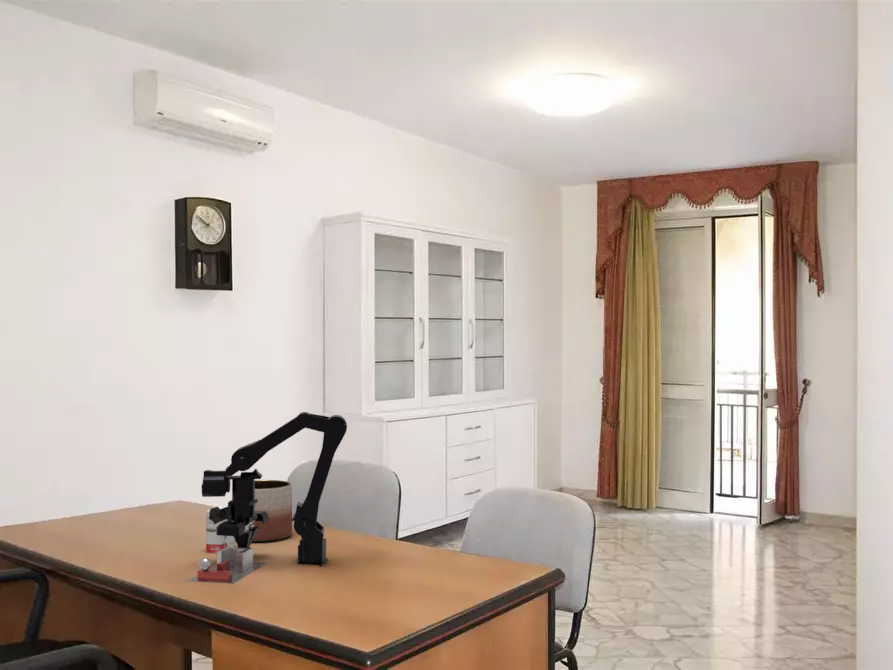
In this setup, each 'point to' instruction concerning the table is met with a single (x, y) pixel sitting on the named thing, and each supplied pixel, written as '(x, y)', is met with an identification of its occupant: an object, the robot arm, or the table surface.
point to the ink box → (216, 536)
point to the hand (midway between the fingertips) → (243, 556)
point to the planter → (273, 510)
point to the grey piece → (222, 572)
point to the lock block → (237, 557)
